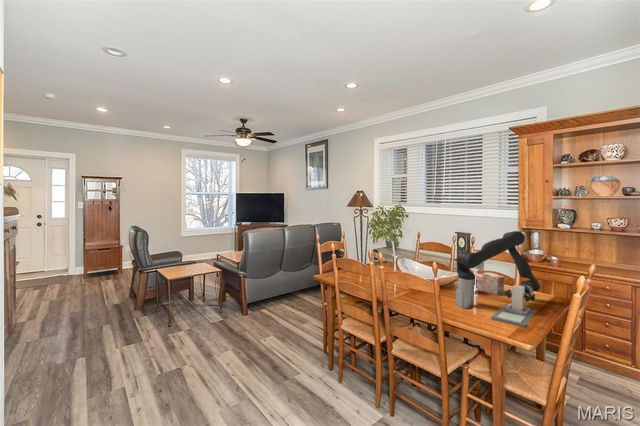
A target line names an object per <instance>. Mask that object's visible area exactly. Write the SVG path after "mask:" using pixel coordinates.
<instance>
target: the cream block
mask: <svg viewBox="0 0 640 426" xmlns="http://www.w3.org/2000/svg"><path fill="white" fill-rule="evenodd" d="M511 288H512V289H511V291H512V294H511V295H512V297H511V304H512V309H515V310H519V311H524V307H525V300H524V292H525V287H524V286H520V285H517V284H514V285H513V286H512V287H511Z"/></svg>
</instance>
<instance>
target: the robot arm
mask: <svg viewBox="0 0 640 426" xmlns="http://www.w3.org/2000/svg"><path fill="white" fill-rule="evenodd" d="M525 240H526V236H525V234H524V233H523V232H522V231H519V230H515V231H508V232H506V233H504V234H503V236H502V237H501V238H496V239H492V240H490V241H487V242H486V243H484V244H483V245H482V247H481V249H480V250H479V251H476V252H471V251H464V250H461V251H458V253H457V255H456V273H457V288H456V289H455V305H456V306H458V307H460V308H461V309H462V308H463V309H464V308H465V309H473V308H474V307H475V293H474V285H475V275H474V274H475V273H474V272H472V271H471V269H474V268H476V267H478V266H479V265H481V264H483V263H484V262H486V261H488V260H490V259H492V258H494V257H496V256H499V255H500V254H503V252H506V251H508V252H509V254H510V256H511V259H512V260H513V261H514V263H515V266H516V268H517V271H518V272H517V273H518V275H519V277H520V278H524V279H526V278H527V279H529V280H522V281H521V282H520V285H519V286H524V287H525V292H524V303H527V302H529V301H532V302H535V300H536V294H534V292H538V291H540V290H541V285H540V282H539V281H538V280H537V278H536V277H535V276H534V273H533V272H532V269H531V267H530V264H529V262H528V260H527V259H526V258H525V257H524V256H523V255H521V253H520V252H519V251H518V249H517V247H518V246H521V245H523V243H525ZM505 296H506V297H507V298H508V299H510V298H512V289H507V290H505Z"/></svg>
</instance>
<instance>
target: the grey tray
mask: <svg viewBox="0 0 640 426" xmlns="http://www.w3.org/2000/svg"><path fill="white" fill-rule="evenodd" d="M536 313H537V310H536V309H532V308H531V307H528V306H524V311H519V310H515V309H512V303H509V304H508V303H505V304H504V305H502V306H501V307H500V308H499V309H498V310H497V311H496V312H495V313H494V314H493V315H492V316H491V318H490V320H492V321H496V322H499V323H504V324H508V325H512V326H514V327H520V328H524V329H526V328H527V327H528V325H527V324H528V323H529V322H530V321H531V319H532V318H533V317H534V315H535V314H536Z"/></svg>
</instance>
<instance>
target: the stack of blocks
mask: <svg viewBox="0 0 640 426" xmlns="http://www.w3.org/2000/svg"><path fill="white" fill-rule="evenodd" d="M476 274H477V289H478V290H482V291H485V292H487V293H490V294H493V295H495V296H499V294H500V295H503V294H504V290H505V289H504V288H505V287H504V286H505V276H503V275H500V274H497V273H493V272H482V274H481V273H476Z"/></svg>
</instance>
